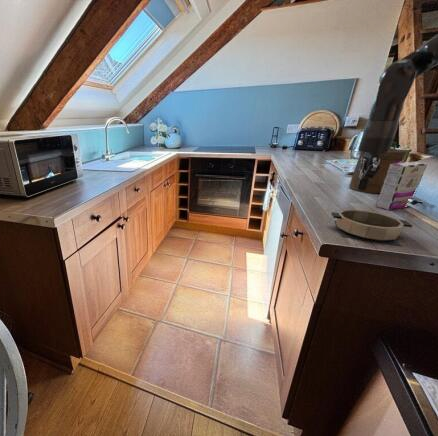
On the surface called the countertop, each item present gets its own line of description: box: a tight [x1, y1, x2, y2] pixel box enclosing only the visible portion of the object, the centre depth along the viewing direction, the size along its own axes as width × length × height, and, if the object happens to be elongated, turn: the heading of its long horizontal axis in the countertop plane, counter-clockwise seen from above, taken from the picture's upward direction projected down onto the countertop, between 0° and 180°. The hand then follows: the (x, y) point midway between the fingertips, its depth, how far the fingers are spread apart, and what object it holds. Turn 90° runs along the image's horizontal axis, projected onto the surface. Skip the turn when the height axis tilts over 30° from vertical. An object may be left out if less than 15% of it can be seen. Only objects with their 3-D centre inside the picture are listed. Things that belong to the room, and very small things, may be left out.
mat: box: [334, 220, 402, 247], centre depth 73 cm, size 13×13×1 cm
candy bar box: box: [375, 161, 428, 211], centre depth 89 cm, size 11×5×16 cm, turn 105°
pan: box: [331, 209, 413, 241], centre depth 72 cm, size 18×14×5 cm
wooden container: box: [349, 148, 407, 195], centre depth 110 cm, size 15×15×22 cm
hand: (360, 189), depth 82 cm, fingers closed
